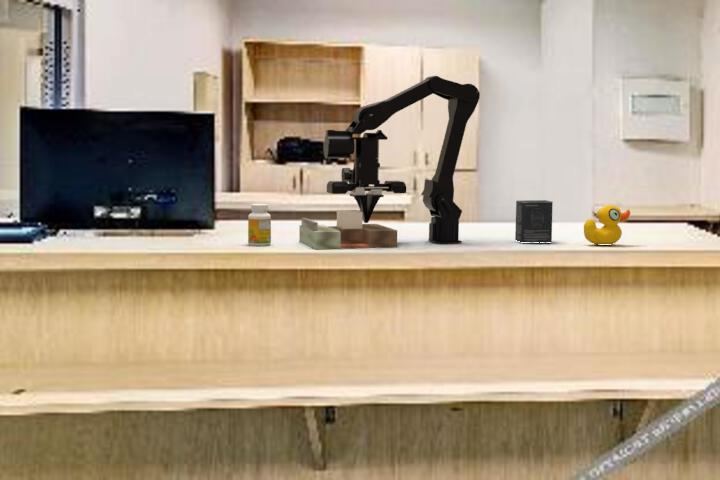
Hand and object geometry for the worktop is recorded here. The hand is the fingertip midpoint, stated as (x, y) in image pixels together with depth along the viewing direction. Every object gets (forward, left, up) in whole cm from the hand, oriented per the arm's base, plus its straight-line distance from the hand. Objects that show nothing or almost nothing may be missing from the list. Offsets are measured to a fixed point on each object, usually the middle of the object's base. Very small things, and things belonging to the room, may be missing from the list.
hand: (366, 222), depth 228 cm
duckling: (-57, +15, -5) cm, 59 cm away
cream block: (+4, 0, -1) cm, 4 cm away
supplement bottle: (+26, -3, -5) cm, 26 cm away
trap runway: (+5, 0, -5) cm, 7 cm away
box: (-42, +6, -5) cm, 43 cm away
